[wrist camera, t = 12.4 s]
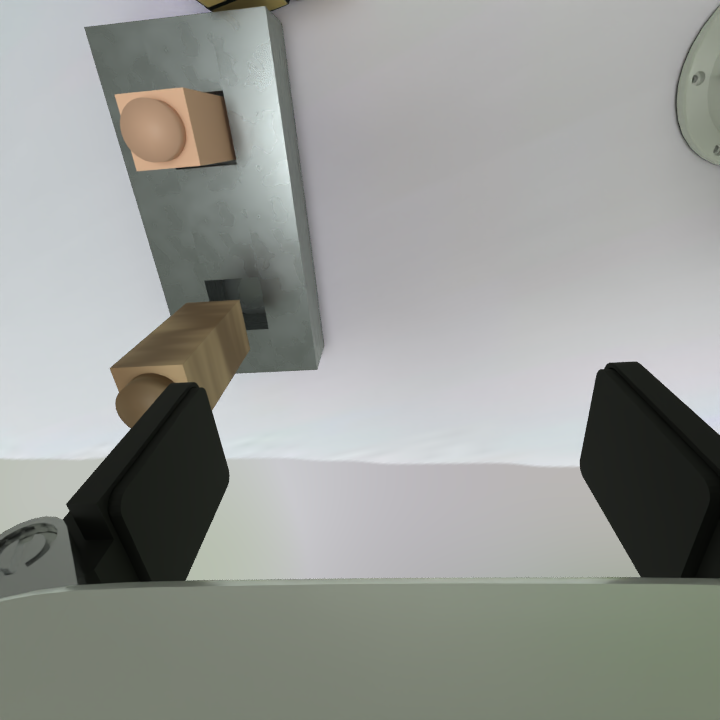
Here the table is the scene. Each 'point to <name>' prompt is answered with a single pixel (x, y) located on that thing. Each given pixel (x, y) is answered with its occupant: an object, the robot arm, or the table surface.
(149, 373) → the walnut plug
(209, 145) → the terracotta plug
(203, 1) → the puzzle cube
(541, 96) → the table surface
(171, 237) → the block
